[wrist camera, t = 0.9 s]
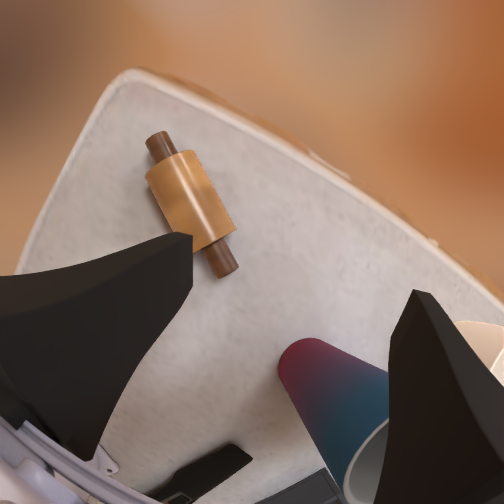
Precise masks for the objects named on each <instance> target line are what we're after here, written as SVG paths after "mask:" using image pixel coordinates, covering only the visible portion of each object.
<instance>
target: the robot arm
mask: <svg viewBox="0 0 504 504" xmlns="http://www.w3.org/2000/svg"><path fill="white" fill-rule="evenodd" d="M192 286H193V235H190V234H185V233H181V232H177V231H176V232H172V233H169V234H165V235H162V236H159V237H157V238H154V239H151V240H148V241H146V242H143V243H140V244H138V245H135V246H132V247H130V248H127V249H124V250H121V251H118V252H115V253H112V254H110V255H107V256H104V257H101V258H98V259H95V260H91V261H88V262H84V263H81V264H77V265H73V266H69V267H65V268H60V269H54V270H49V271H43V272H38V273H31V274H23V275H12V276H0V504H88V503H87V500H88V497H89V494H90V495H91V496H93V497H95V498H96V499H98V500H100V501H101V502H103V503H105V504H163V503H160V502H158V501H156V500H154V499H152V498H149V497H147V496H145V495H143V494H141V493H139V492H137V491H135V490H133V489H131V488H129V487H127V486H125V485H123V484H122V483H120V482H118V481H116V480H114V479H112V478H111V477H109V475H112V474H114V473H117V472H118V471H119V467H118V466H117V464H116V463H115V462H114V461H113V460H112V459H111V458H110V457H109V455H108V454H107V453H106V452H105V451H104V450H103V449H102V447H101V446H100V445H99V441H100V439H101V436H102V434H103V431H104V429H105V427H106V425H107V423H108V420H109V418H110V416H111V414H112V412H113V410H114V408H115V406H116V404H117V402H118V400H119V398H120V396H121V394H122V392H123V390H124V388H125V387H126V385H127V383H128V381H129V380H130V378H131V376H132V374H133V373H134V371H135V369H136V367H137V366H138V364H139V363H140V361H141V360H142V358H143V357H144V355H145V354H146V353H147V351H148V350H149V349H150V347H151V346H152V345H153V343H154V342H155V341H156V340H157V338H158V337H159V336H160V334H161V333H162V332H163V330H164V329H165V328H166V327H167V325H168V324H169V323H170V321H171V320H172V319H173V317H174V316H175V315H176V313H177V312H178V311H179V309H180V308H181V306H182V304H183V303H184V301H185V299H186V298H187V296H188V294H189V292H190V290H191V288H192ZM388 374H389V427H388V438H387V444H386V450H385V456H384V462H383V467H382V471H381V476H380V480H379V484H378V488H377V492H376V495H375V499H374V502H373V504H504V386H503V385H502V384H501V383H500V382H499V381H498V380H497V378H496V377H495V376H494V375H493V374H492V373H491V372H490V371H489V369H488V368H487V367H486V366H485V365H484V363H483V362H482V361H481V360H480V358H479V357H478V356H477V354H476V353H475V352H474V350H473V349H472V348H471V347H470V345H469V344H468V343H467V341H466V340H465V339H464V337H463V336H462V334H461V333H460V332H459V330H458V329H457V328H456V326H455V325H454V323H453V322H452V321H451V319H450V318H449V317H448V315H447V314H446V312H445V311H444V310H443V308H442V307H441V306H440V304H439V303H438V302H437V301H436V299H435V298H434V297H433V296H432V295H431V294H430V293H427V292H423V291H419V290H415V289H413V290H412V293H411V295H410V297H409V299H408V302H407V304H406V306H405V308H404V310H403V313H402V315H401V317H400V319H399V321H398V323H397V325H396V327H395V329H394V331H393V333H392V335H391V340H390V350H389V362H388ZM109 469H111V470H109Z"/></svg>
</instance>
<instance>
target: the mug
mask: <svg viewBox="0 0 504 504" xmlns="http://www.w3.org/2000/svg"><path fill="white" fill-rule="evenodd" d="M453 323H454V325H455V326H456V328H457V329H458V330H459V332H460V333H461V334H462V336H463V337H464V339H465V340H466V341H467V343H468V344H469V345H470V347H471V348H472V349H473V350H474V352H475V353H476V354H477V356H478V357H479V358H480V360H481V361H482V362H483V363H484V365H485V366H486V367H487V368H488V369H489V371H490V372H491V373H492V374H493V375H494V376H495V377H496V378H497V380H498V381H499V382H500V383H501V384H502V385H503V386H504V326H499V325H494V324H489V323H483V322H476V321H457V322H453Z"/></svg>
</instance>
